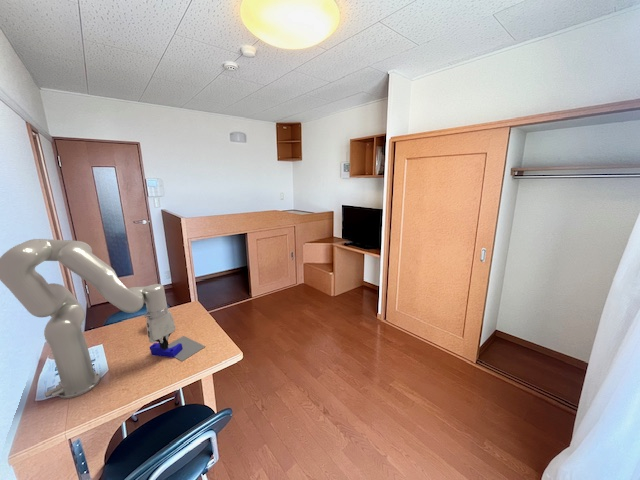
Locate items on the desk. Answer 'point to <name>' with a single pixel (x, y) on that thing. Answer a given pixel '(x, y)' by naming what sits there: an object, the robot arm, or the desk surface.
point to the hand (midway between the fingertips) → (164, 348)
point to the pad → (186, 347)
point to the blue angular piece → (168, 352)
